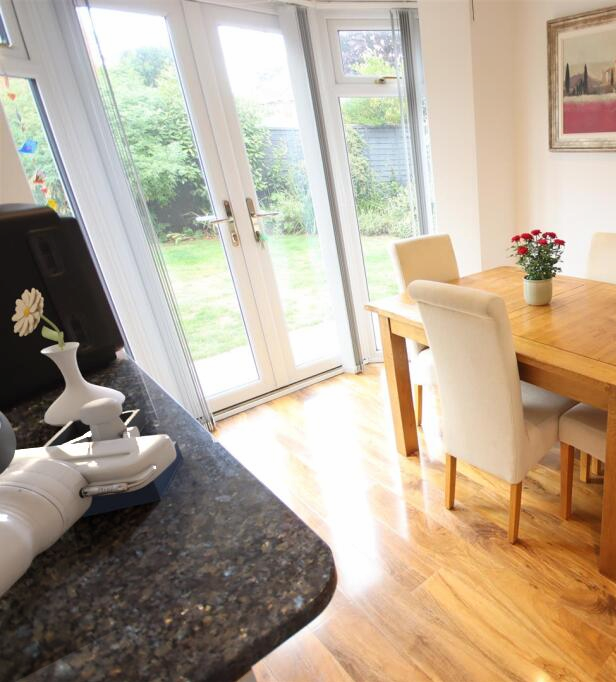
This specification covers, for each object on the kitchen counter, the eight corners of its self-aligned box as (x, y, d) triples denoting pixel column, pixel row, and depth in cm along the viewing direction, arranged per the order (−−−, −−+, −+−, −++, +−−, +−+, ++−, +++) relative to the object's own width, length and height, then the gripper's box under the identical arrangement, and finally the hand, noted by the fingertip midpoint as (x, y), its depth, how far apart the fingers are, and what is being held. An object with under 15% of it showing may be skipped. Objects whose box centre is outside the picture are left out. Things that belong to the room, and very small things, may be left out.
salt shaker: (97, 501, 62) (59, 417, 57) (112, 477, 67) (78, 398, 62) (149, 488, 64) (116, 407, 59) (160, 465, 69) (130, 388, 64)
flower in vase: (49, 415, 86) (-13, 286, 77) (125, 394, 93) (78, 273, 84) (46, 444, 77) (-24, 301, 68) (131, 418, 84) (79, 285, 75)
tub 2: (71, 519, 60) (61, 499, 59) (106, 474, 69) (98, 455, 67) (161, 500, 63) (153, 480, 62) (183, 458, 72) (177, 441, 70)
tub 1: (44, 471, 70) (35, 453, 69) (77, 437, 79) (70, 420, 77) (122, 456, 73) (115, 438, 72) (146, 425, 82) (140, 408, 80)
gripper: (129, 465, 51) (190, 404, 64) (-85, 490, 48) (23, 421, 61) (148, 510, 53) (203, 443, 66) (-56, 536, 50) (43, 461, 63)
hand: (115, 433), depth 63 cm, fingers closed on salt shaker, 3 cm apart
